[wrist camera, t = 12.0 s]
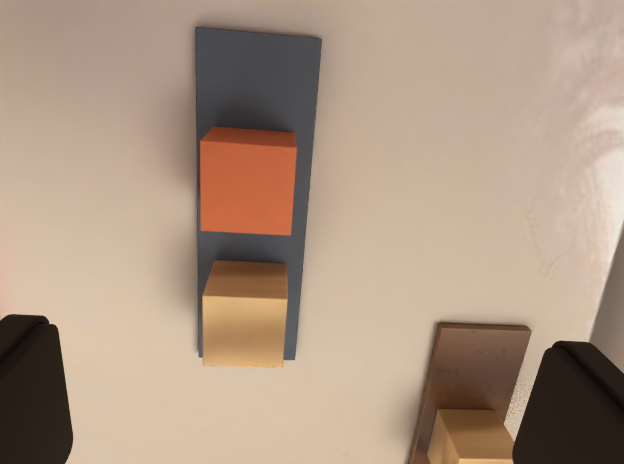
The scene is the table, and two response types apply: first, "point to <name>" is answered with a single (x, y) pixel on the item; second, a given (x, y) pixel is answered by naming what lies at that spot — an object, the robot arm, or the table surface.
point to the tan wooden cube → (245, 314)
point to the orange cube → (247, 181)
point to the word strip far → (469, 374)
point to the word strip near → (259, 116)
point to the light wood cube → (469, 438)
